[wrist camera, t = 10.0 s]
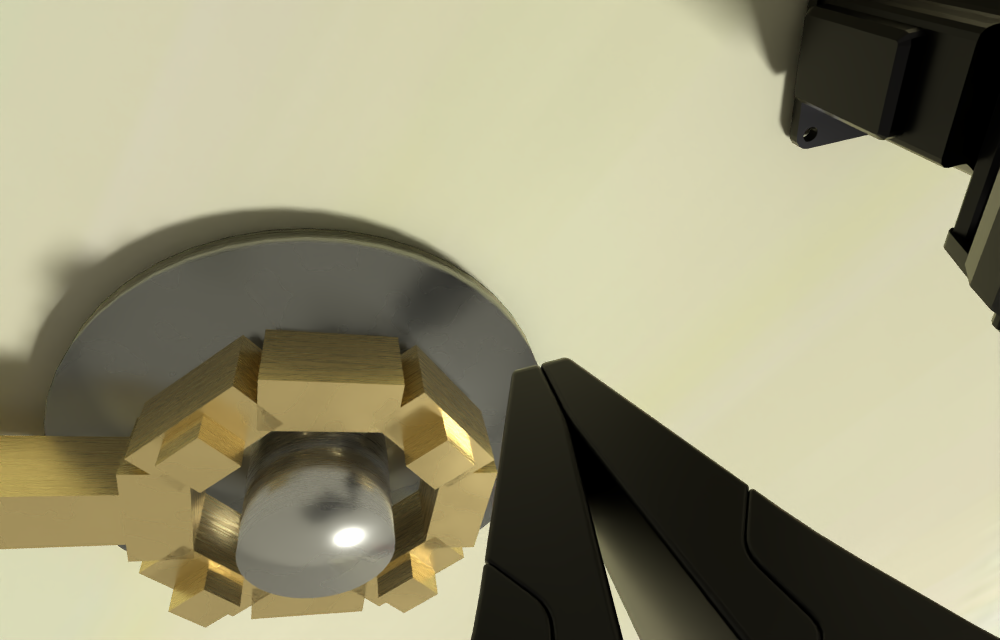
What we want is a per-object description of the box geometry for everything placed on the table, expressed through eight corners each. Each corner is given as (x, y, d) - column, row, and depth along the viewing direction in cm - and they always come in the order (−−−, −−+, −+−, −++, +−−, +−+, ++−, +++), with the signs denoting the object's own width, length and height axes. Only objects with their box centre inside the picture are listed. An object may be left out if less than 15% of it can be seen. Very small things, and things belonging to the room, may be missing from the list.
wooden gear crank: (507, 343, 22) (532, 410, 19) (446, 553, 28) (458, 626, 26) (-247, 298, 16) (-370, 386, 13) (-112, 578, 22) (-176, 679, 20)
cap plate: (509, 173, 20) (558, 255, 16) (557, 510, 31) (594, 615, 26) (-73, 305, 19) (-199, 437, 14) (191, 611, 29) (166, 740, 25)
